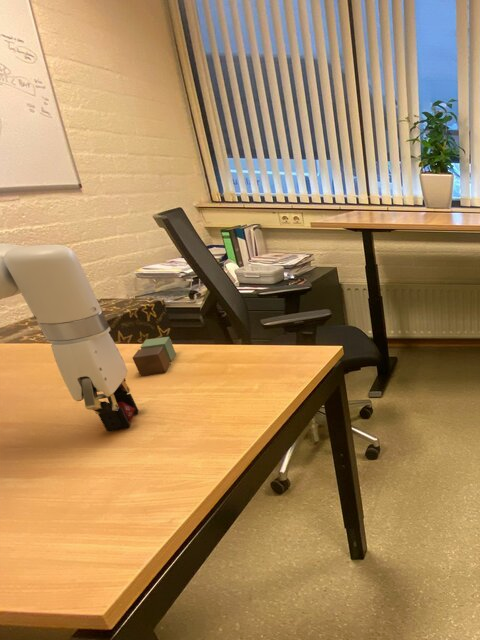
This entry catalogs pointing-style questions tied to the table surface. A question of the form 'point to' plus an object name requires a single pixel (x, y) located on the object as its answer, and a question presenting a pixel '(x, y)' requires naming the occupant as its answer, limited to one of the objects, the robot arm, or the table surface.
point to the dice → (127, 410)
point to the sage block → (159, 343)
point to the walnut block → (151, 361)
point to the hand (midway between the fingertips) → (123, 420)
